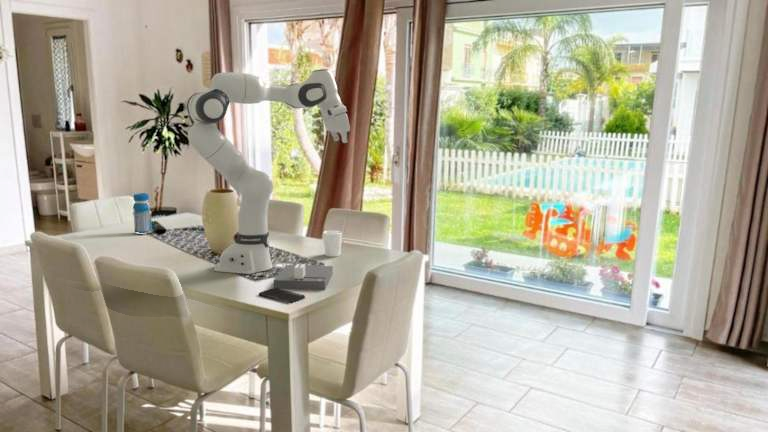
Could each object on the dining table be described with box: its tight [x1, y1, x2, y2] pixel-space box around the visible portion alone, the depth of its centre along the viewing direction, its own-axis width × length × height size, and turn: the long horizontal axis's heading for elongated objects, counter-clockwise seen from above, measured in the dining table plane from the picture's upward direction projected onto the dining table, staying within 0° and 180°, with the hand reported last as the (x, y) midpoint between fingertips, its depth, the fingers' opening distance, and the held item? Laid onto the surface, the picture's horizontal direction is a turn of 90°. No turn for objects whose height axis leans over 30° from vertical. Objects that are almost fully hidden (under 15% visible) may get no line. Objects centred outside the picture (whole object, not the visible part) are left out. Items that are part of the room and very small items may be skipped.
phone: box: [258, 287, 306, 304], centre depth 192 cm, size 8×1×15 cm
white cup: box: [322, 230, 343, 258], centre depth 248 cm, size 8×8×10 cm
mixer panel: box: [273, 264, 334, 291], centre depth 210 cm, size 18×20×3 cm
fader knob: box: [294, 263, 306, 279], centre depth 204 cm, size 3×5×4 cm, turn 177°
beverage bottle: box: [132, 192, 153, 233], centre depth 286 cm, size 8×8×20 cm
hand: (341, 141), depth 237 cm, fingers open, 8 cm apart
